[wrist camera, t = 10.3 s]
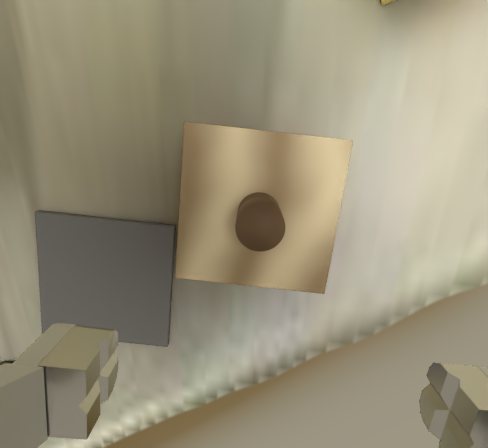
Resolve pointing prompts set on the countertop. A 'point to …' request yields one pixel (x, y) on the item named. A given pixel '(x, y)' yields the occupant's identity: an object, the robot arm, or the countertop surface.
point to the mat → (106, 274)
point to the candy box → (386, 1)
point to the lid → (259, 206)
